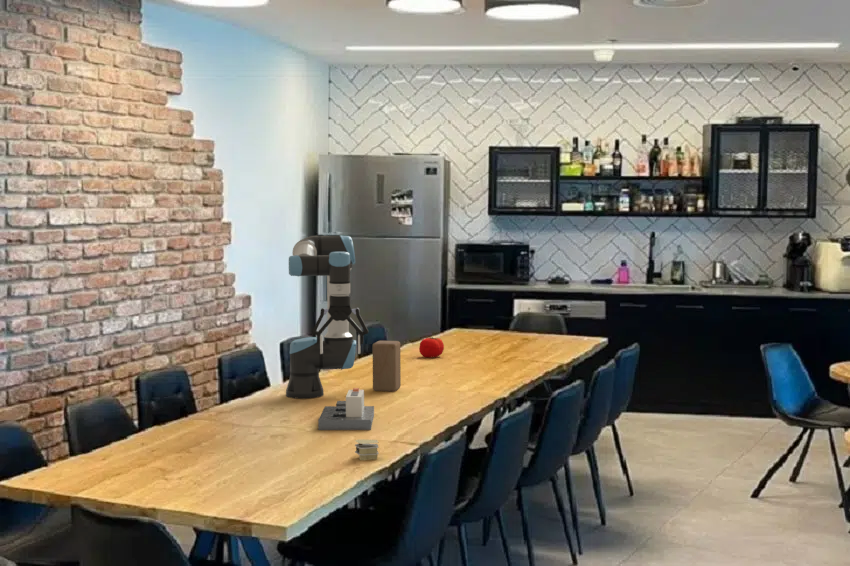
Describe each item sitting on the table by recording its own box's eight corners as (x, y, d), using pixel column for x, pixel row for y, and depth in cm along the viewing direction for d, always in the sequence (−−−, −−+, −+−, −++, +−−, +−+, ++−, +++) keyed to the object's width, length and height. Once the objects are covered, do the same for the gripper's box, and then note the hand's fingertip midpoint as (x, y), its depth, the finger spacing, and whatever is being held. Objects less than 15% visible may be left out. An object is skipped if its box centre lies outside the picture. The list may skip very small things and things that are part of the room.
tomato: (416, 356, 529) (416, 336, 528) (440, 355, 533) (440, 335, 532) (423, 359, 518) (422, 339, 517) (447, 358, 522) (447, 338, 521)
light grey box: (346, 425, 363) (345, 394, 363) (349, 417, 377) (348, 387, 377) (361, 425, 363) (361, 394, 363) (364, 417, 377) (363, 387, 377)
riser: (336, 412, 388) (336, 403, 388) (337, 409, 394) (337, 400, 394) (349, 412, 388) (349, 403, 388) (350, 409, 394) (350, 400, 394)
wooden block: (395, 392, 430) (395, 343, 428) (372, 391, 432) (371, 343, 430) (401, 387, 439) (400, 340, 438) (378, 387, 441) (377, 340, 440)
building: (381, 455, 324) (381, 437, 324) (384, 462, 316) (384, 444, 315) (349, 456, 323) (349, 438, 322) (351, 463, 314) (351, 445, 314)
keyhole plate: (318, 430, 358) (318, 419, 358) (325, 415, 382) (324, 406, 382) (370, 429, 358) (370, 419, 358) (374, 415, 382) (374, 406, 382)
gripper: (304, 296, 370) (304, 355, 372) (374, 296, 370) (374, 354, 373) (306, 293, 377) (306, 351, 380) (374, 293, 378) (375, 351, 380)
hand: (340, 353), depth 376 cm, fingers open, 13 cm apart
